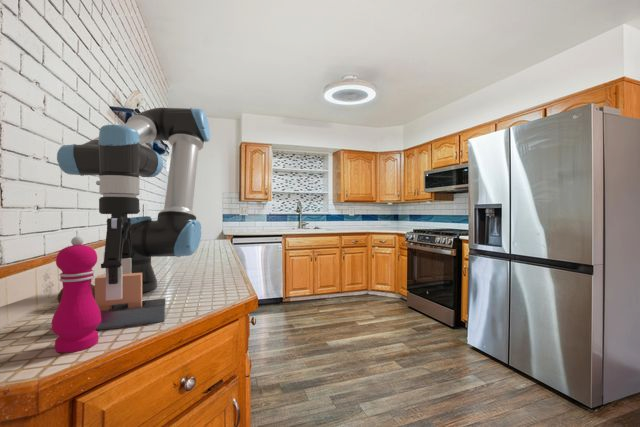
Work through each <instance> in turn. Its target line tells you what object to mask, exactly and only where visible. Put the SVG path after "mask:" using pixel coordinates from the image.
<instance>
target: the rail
mask: <svg viewBox="0 0 640 427" xmlns="http://www.w3.org/2000/svg"><path fill="white" fill-rule="evenodd" d="M100 312H101V323H100V324H99V325H98V327H97V328H96V329H95V331H104V330H110V329H117V328H118V329H119V328H126V327H132V326H141V325H148V324H156V323H164V322H165V320H166V298H165V297H164V298H155V299H154V298H153V299H146V300H142V307H134V308H128V303H124V304H114V305H111V310H107V311H100Z"/></svg>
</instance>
